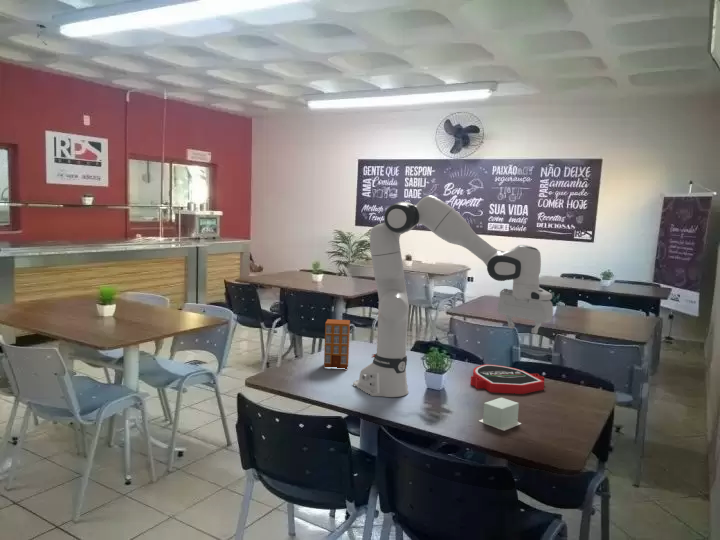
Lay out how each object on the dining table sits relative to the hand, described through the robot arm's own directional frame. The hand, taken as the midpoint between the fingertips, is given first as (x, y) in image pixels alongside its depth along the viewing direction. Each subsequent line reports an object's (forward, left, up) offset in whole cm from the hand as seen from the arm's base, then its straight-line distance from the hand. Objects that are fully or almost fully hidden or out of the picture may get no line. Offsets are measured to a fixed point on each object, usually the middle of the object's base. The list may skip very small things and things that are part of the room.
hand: (522, 330), depth 197 cm
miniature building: (-77, -21, -28) cm, 84 cm away
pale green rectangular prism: (+4, -16, -28) cm, 33 cm away
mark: (+4, -17, -28) cm, 33 cm away
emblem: (-22, +23, -29) cm, 43 cm away
